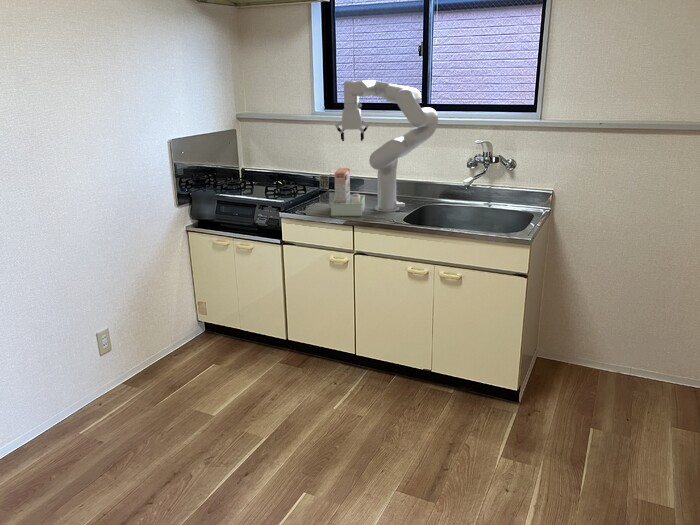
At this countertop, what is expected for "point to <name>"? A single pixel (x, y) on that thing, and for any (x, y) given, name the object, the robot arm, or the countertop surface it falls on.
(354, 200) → the jar
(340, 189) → the cracker box
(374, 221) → the countertop surface
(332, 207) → the tote
